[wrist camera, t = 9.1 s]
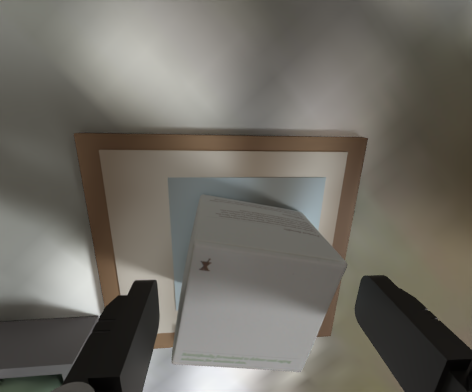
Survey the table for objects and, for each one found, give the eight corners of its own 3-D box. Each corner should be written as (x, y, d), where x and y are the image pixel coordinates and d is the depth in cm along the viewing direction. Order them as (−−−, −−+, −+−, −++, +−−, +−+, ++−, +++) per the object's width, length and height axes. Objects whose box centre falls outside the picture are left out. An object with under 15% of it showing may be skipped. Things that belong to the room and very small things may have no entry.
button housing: (98, 316, 15) (72, 363, 12) (111, 382, 17) (91, 437, 14) (-4, 321, 14) (-57, 373, 12) (20, 390, 16) (-20, 449, 13)
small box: (180, 285, 14) (166, 370, 9) (198, 190, 12) (192, 236, 8) (275, 296, 15) (305, 379, 10) (304, 209, 13) (355, 261, 9)
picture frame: (362, 137, 13) (377, 139, 12) (327, 329, 17) (336, 346, 16) (79, 132, 12) (63, 135, 10) (115, 344, 16) (107, 364, 14)
